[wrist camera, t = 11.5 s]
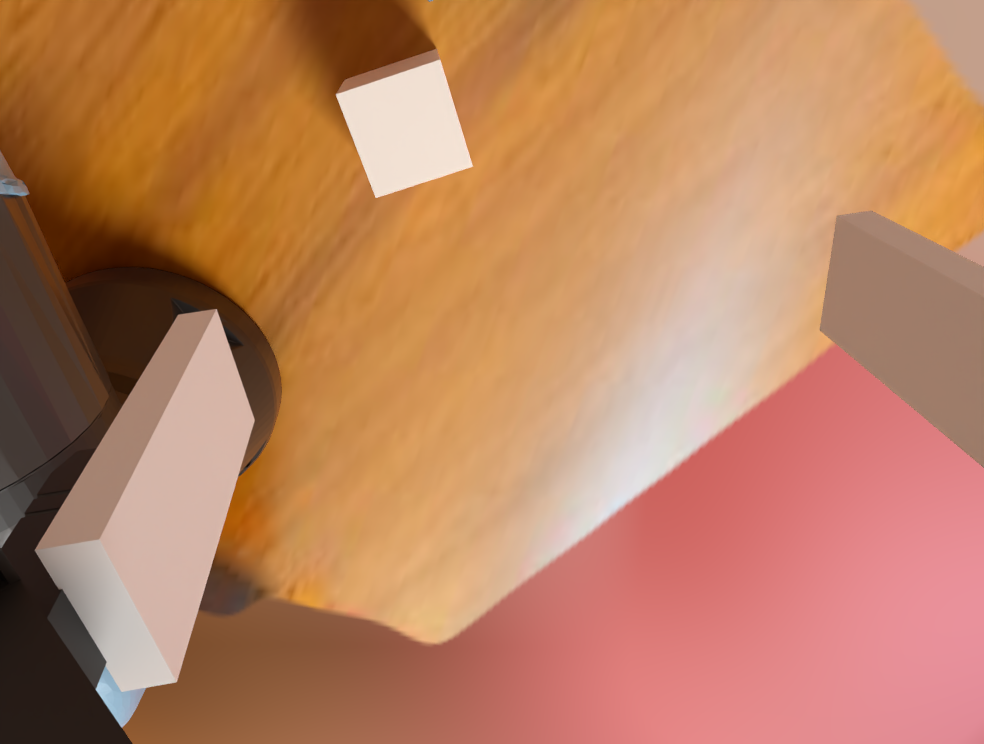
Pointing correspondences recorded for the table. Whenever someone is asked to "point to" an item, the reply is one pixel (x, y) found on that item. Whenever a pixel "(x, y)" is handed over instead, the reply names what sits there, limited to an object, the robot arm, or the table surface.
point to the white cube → (404, 123)
